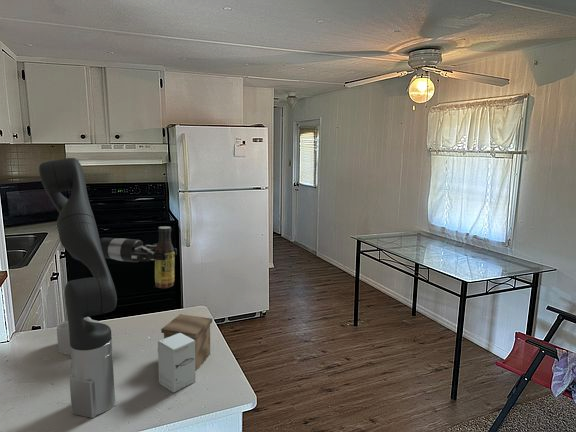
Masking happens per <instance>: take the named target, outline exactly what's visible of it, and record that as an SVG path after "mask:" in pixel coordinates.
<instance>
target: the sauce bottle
mask: <svg viewBox="0 0 576 432" xmlns="http://www.w3.org/2000/svg"><path fill="white" fill-rule="evenodd" d="M157 230H158V242H157V243H156V244H157V245H156V248H155V253H156V252H157V253H166V260H154V283H155V284H154V285H155V287H156V288H158V289H169V288H171V287H173V286H174V285H175V267H176V266H175V258H176V257H175V256H176V255H175V252H174V248H175V247H174V246H173V243H172V237H171V236H172V227H171V226H169V225H168V226H165V225H164V226H158V229H157Z"/></svg>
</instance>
